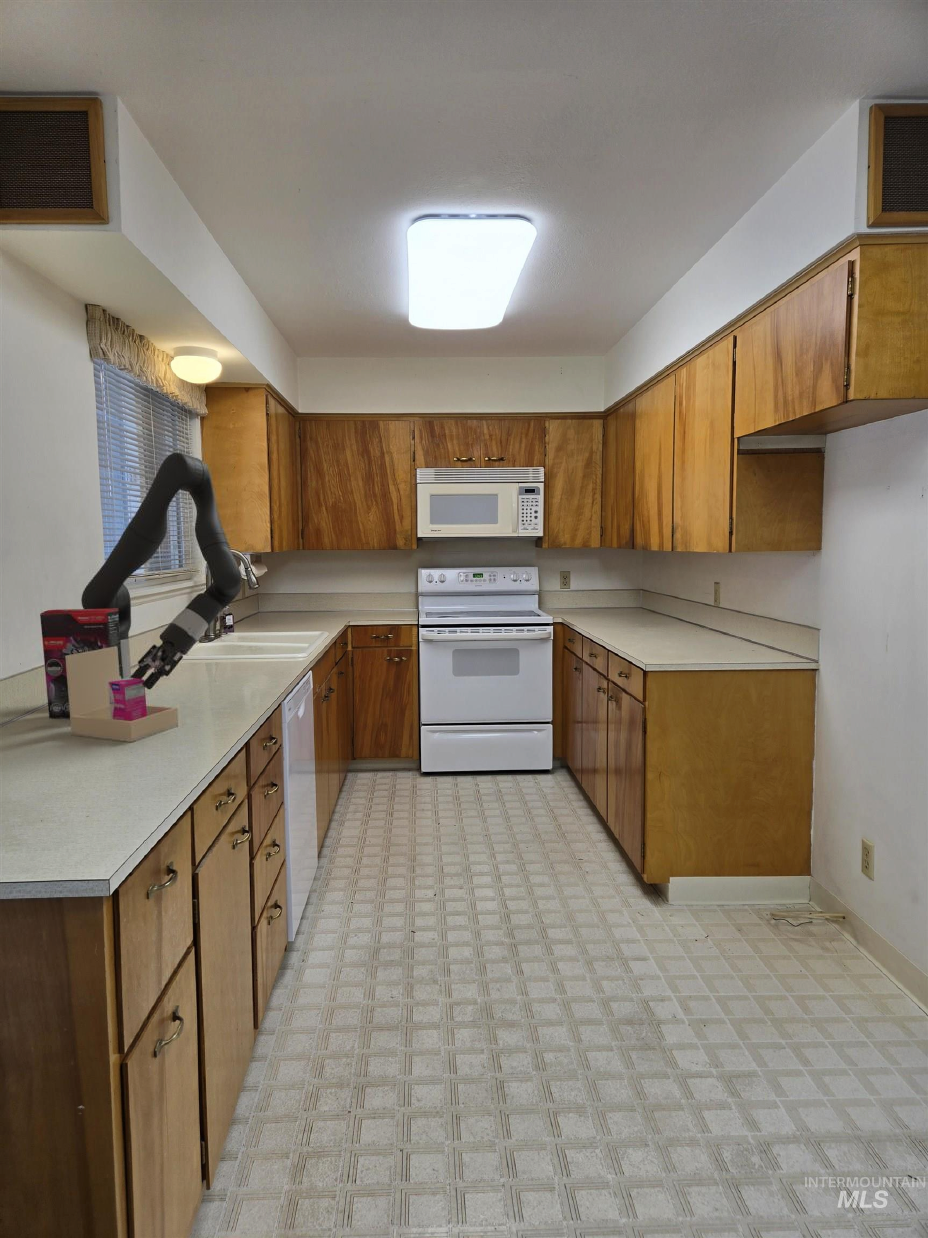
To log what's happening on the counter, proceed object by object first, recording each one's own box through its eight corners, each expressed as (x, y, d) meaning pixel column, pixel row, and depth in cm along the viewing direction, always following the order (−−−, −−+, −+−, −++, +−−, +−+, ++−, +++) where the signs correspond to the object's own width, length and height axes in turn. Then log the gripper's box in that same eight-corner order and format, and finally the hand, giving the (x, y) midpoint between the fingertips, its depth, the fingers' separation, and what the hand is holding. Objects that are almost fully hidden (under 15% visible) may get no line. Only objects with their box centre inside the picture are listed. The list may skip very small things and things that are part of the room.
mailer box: (71, 735, 161) (65, 655, 159) (120, 720, 174) (115, 646, 172) (132, 742, 155) (126, 659, 153) (178, 726, 168) (173, 649, 166)
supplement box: (110, 729, 163) (106, 681, 162) (133, 723, 168) (129, 676, 167) (126, 733, 160) (123, 683, 159) (149, 726, 166) (145, 679, 164)
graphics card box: (46, 719, 176) (37, 611, 173) (61, 713, 183) (52, 608, 180) (115, 718, 176) (107, 610, 173) (127, 711, 183) (120, 607, 180)
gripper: (161, 619, 175) (115, 671, 168) (185, 624, 164) (137, 679, 158) (183, 638, 179) (140, 689, 172) (208, 644, 169) (162, 698, 162)
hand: (138, 684), depth 165 cm, fingers open, 8 cm apart
